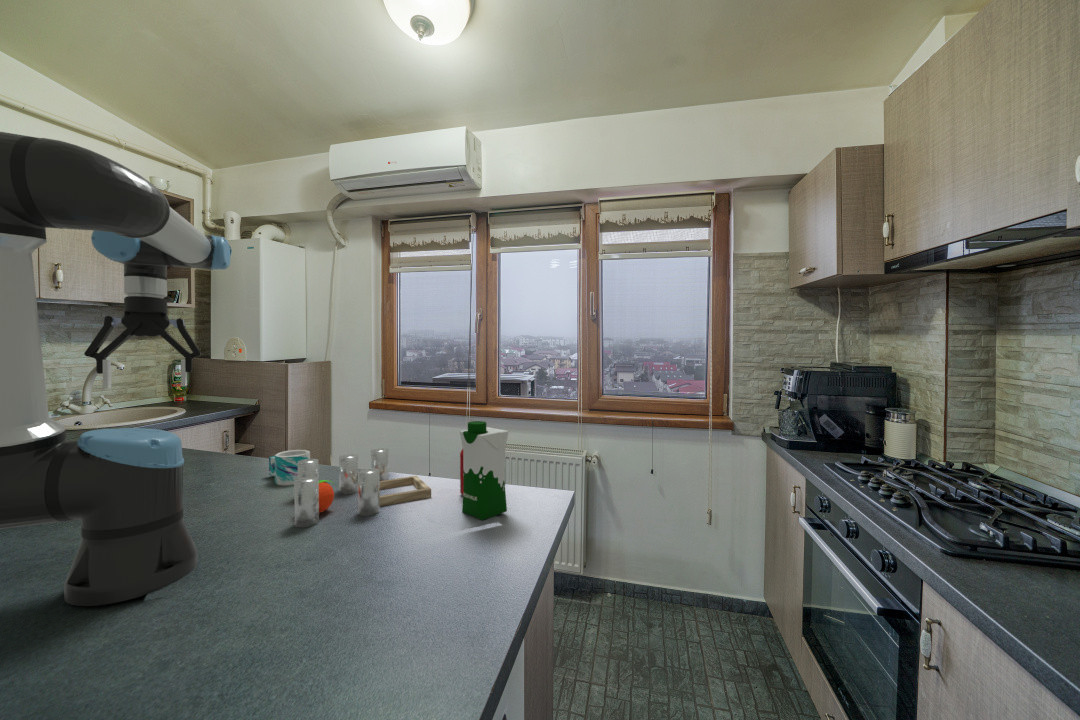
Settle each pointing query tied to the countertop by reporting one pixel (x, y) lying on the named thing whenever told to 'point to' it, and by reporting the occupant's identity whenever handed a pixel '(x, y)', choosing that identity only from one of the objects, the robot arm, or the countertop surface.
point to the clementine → (325, 495)
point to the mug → (286, 466)
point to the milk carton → (483, 470)
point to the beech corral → (404, 496)
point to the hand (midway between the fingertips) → (147, 387)
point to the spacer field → (340, 485)
